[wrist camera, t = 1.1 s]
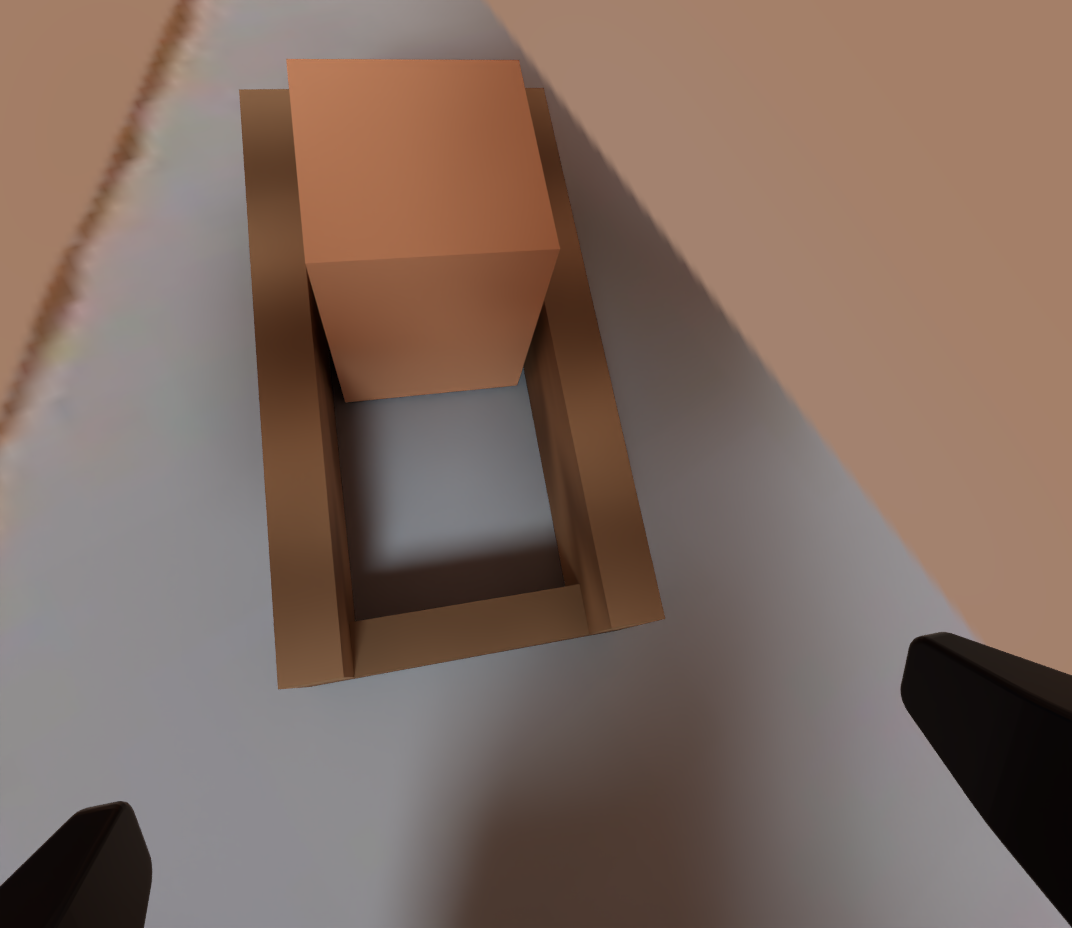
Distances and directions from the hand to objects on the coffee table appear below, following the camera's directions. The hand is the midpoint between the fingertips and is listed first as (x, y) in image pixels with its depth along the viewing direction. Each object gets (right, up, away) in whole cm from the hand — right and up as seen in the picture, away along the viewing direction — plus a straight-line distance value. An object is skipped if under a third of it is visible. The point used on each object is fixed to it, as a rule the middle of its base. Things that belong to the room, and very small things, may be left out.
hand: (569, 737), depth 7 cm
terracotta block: (-5, +8, +16) cm, 19 cm away
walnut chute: (-4, +5, +16) cm, 17 cm away
